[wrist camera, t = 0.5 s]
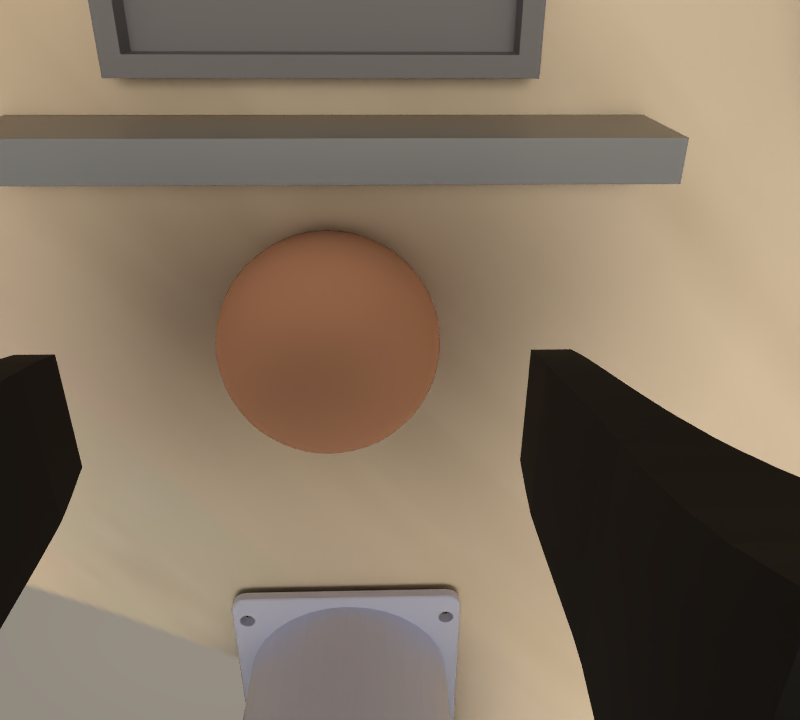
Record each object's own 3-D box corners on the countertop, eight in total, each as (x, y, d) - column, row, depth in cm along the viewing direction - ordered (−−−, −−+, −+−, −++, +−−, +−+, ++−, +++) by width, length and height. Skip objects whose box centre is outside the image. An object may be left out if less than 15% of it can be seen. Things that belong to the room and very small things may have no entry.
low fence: (637, 155, 19) (680, 184, 16) (13, 156, 18) (-49, 186, 16) (643, 114, 18) (688, 137, 16) (3, 115, 18) (-62, 139, 15)
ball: (429, 382, 22) (445, 498, 17) (246, 384, 22) (209, 502, 17) (434, 203, 19) (454, 279, 14) (226, 204, 19) (175, 281, 14)
